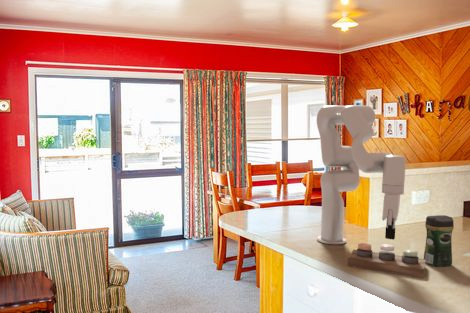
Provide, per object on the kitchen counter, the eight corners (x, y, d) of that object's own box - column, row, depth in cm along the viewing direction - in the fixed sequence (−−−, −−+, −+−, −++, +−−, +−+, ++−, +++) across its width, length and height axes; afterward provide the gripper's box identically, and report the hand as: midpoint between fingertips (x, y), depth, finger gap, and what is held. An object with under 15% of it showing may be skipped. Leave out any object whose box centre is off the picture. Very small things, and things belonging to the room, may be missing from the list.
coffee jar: (441, 259, 173) (443, 213, 171) (455, 266, 165) (458, 217, 164) (419, 261, 171) (422, 213, 169) (432, 267, 163) (435, 218, 162)
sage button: (403, 251, 163) (403, 248, 163) (417, 253, 161) (418, 250, 161) (402, 255, 158) (402, 252, 158) (417, 257, 156) (417, 254, 156)
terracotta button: (359, 245, 170) (359, 242, 169) (372, 247, 168) (372, 244, 167) (357, 249, 165) (357, 245, 165) (370, 250, 163) (370, 247, 163)
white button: (381, 246, 166) (381, 243, 166) (394, 248, 164) (394, 245, 164) (379, 249, 162) (379, 246, 162) (393, 251, 160) (393, 248, 160)
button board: (353, 256, 174) (353, 244, 174) (425, 267, 163) (425, 254, 163) (347, 265, 164) (348, 252, 163) (423, 277, 153) (424, 263, 152)
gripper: (384, 185, 169) (381, 232, 171) (379, 191, 155) (376, 242, 157) (405, 187, 166) (402, 235, 168) (402, 193, 152) (399, 245, 154)
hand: (390, 238), depth 162 cm, fingers closed
